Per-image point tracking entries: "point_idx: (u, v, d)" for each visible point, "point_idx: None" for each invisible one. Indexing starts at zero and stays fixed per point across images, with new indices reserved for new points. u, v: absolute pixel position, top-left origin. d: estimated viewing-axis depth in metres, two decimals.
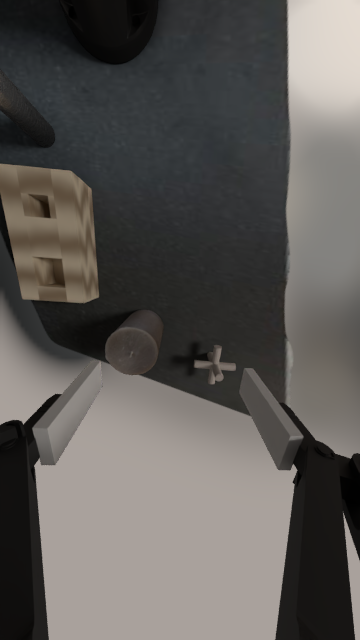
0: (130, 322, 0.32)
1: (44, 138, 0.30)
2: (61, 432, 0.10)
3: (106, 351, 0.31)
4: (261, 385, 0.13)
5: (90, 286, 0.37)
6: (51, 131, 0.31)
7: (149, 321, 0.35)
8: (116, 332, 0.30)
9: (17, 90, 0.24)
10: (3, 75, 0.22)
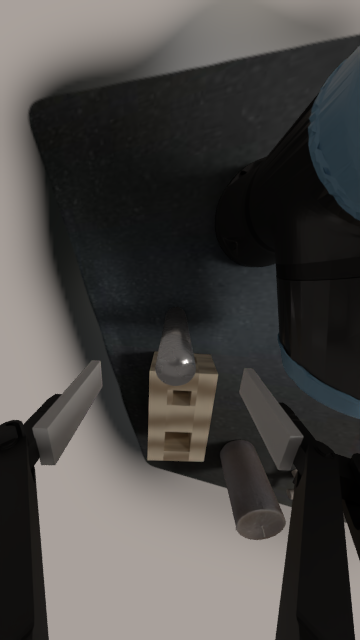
0: (254, 489, 0.35)
1: None
2: (61, 432, 0.10)
3: (238, 525, 0.33)
4: (261, 385, 0.13)
5: None
6: None
7: (262, 475, 0.37)
8: (251, 512, 0.32)
9: (187, 326, 0.27)
10: None
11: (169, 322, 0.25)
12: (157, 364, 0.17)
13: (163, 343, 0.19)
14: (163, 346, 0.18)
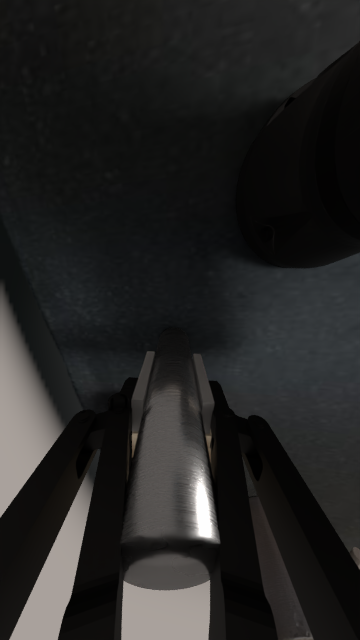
0: (288, 592, 0.24)
1: None
2: None
3: None
4: (200, 366, 0.15)
5: None
6: None
7: None
8: None
9: (193, 370, 0.16)
10: (196, 386, 0.14)
11: (161, 367, 0.14)
12: None
13: (141, 450, 0.08)
14: (139, 473, 0.07)
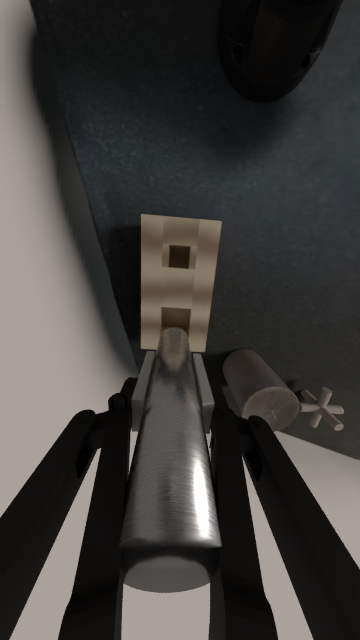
0: (262, 376, 0.30)
1: None
2: None
3: (244, 410, 0.29)
4: (200, 366, 0.15)
5: None
6: None
7: (271, 369, 0.33)
8: (260, 392, 0.28)
9: (193, 370, 0.16)
10: (196, 386, 0.14)
11: (161, 367, 0.14)
12: None
13: (141, 451, 0.08)
14: (139, 474, 0.07)
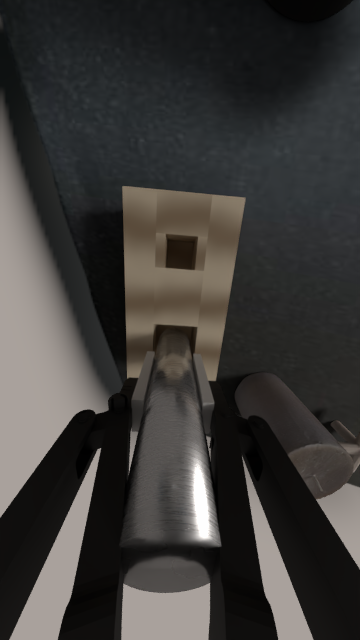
0: (297, 421, 0.21)
1: None
2: None
3: None
4: (200, 366, 0.15)
5: None
6: None
7: (304, 407, 0.24)
8: (299, 450, 0.19)
9: (193, 370, 0.16)
10: (196, 387, 0.14)
11: (161, 367, 0.14)
12: None
13: (141, 451, 0.08)
14: (139, 474, 0.07)
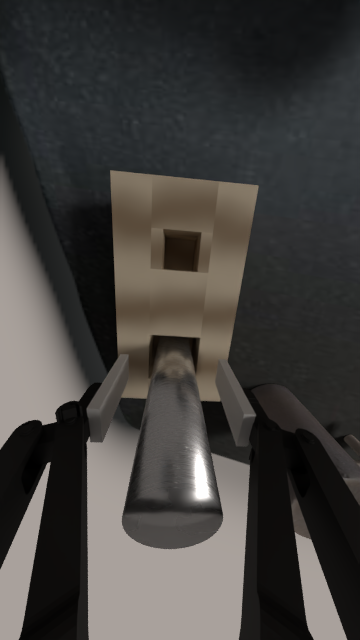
0: None
1: None
2: (106, 414, 0.11)
3: None
4: (230, 373, 0.14)
5: None
6: None
7: (321, 427, 0.21)
8: None
9: None
10: None
11: (163, 360, 0.15)
12: (126, 514, 0.07)
13: (147, 430, 0.09)
14: (145, 449, 0.08)
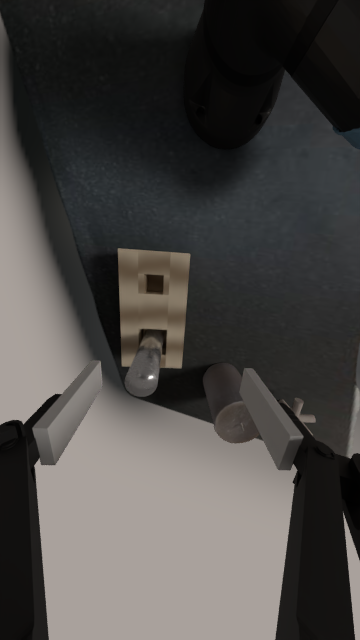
0: (233, 390, 0.33)
1: None
2: (61, 432, 0.10)
3: (216, 423, 0.31)
4: (261, 385, 0.13)
5: None
6: None
7: None
8: (229, 406, 0.30)
9: (161, 343, 0.31)
10: (160, 349, 0.29)
11: (144, 340, 0.29)
12: (126, 379, 0.21)
13: (133, 361, 0.23)
14: (132, 364, 0.22)
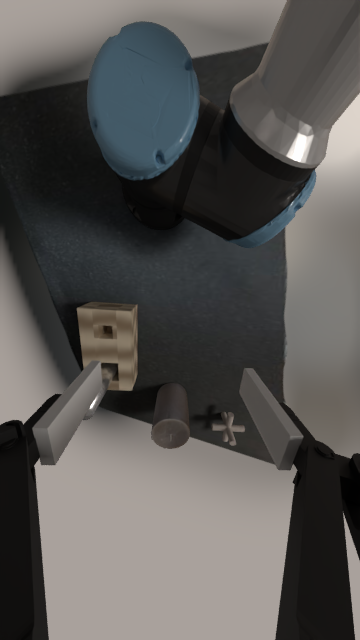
0: (168, 409, 0.44)
1: None
2: (61, 432, 0.10)
3: (152, 434, 0.42)
4: (261, 385, 0.13)
5: (134, 374, 0.48)
6: None
7: (180, 402, 0.47)
8: (160, 422, 0.41)
9: (112, 374, 0.42)
10: (108, 380, 0.40)
11: None
12: None
13: None
14: None
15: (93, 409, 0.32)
